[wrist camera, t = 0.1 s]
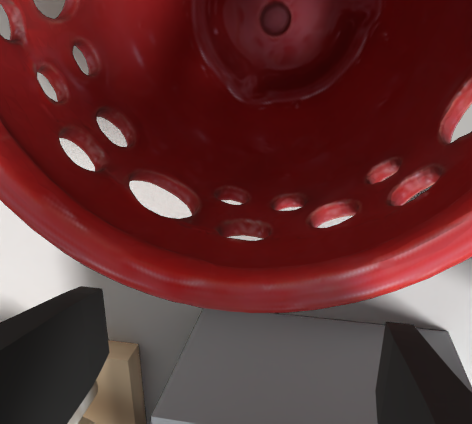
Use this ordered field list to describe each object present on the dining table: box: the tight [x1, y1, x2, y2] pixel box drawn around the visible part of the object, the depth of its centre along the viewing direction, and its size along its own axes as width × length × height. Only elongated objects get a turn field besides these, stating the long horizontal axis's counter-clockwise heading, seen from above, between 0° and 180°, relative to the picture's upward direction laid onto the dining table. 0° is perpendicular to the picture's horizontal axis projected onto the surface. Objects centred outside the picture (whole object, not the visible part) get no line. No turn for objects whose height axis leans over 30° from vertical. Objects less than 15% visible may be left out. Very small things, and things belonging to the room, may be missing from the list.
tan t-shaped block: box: [67, 340, 147, 424], centre depth 25 cm, size 8×12×5 cm
